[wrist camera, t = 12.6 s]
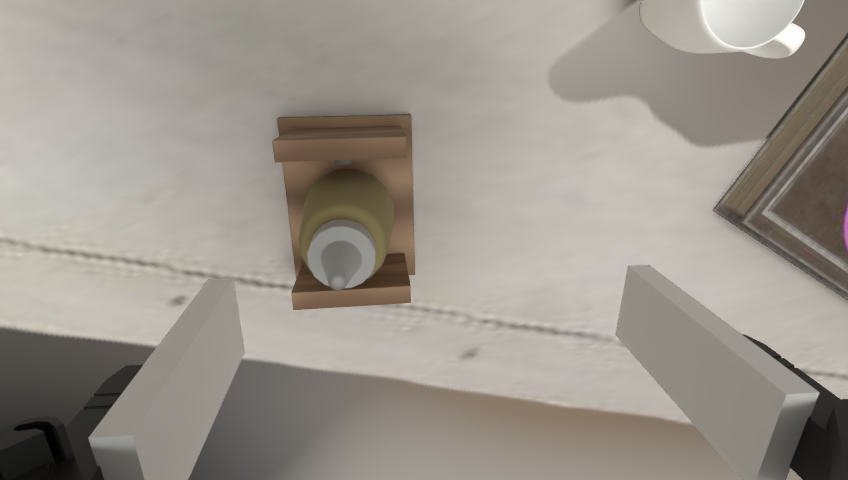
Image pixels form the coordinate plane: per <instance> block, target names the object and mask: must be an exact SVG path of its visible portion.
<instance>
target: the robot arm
mask: <svg viewBox="0 0 848 480" xmlns="http://www.w3.org/2000/svg"><path fill="white" fill-rule="evenodd" d="M615 335H616V336H617V337H618V338H619V339H620V341H621V342H622V343H623V344H624V345H625V346H626V347H627V349H628V350H629V351H630V352H631V353H632V354H633V355H634V356H635V358H636V359H637V360H638V361H639V362H640V363H641V364H642V366H643V367H644V368H645V369H646V370H647V371H648V372H649V374H650V375H651V376H652V377H653V378H654V379H655V380H656V382H657V383H658V384H659V385H660V386H661V387H662V388H663V390H664V391H665V392H666V393H667V394H668V395H669V396H670V398H671V399H672V400H673V401H674V402H675V403H676V404H677V406H678V407H679V408H680V409H681V410H682V411H683V412H684V414H685V415H686V416H687V417H688V418H689V419H690V420H691V422H692V423H693V424H694V425H695V426H696V427H697V428H698V429H699V431H700V432H701V433H702V434H703V435H704V436H705V437H706V438H707V440H708V441H709V442H710V443H711V444H712V446H713V447H714V448H715V449H716V450H717V451H718V452H719V453H720V455H721V456H722V457H723V458H724V459H725V460H726V461H727V463H728V464H729V465H730V466H731V467H732V468H733V470H734V471H735V472H736V473H737V474H738V475H739V476H740V478H741V479H742V480H786V478H787V475H788V473H789V470H790V468H791V469H792V470H794V471H795V472H796V473H797V474H798V475H799V476H800V477H801V478H802V479H803V480H848V399H842V400H841V399H839V398H838V397H836V396H835V395H834V394H832V393H831V392H830V391H828V390H827V389H825V388H824V387H823V386H821V385H820V384H819V383H817V382H816V381H814V380H813V379H812V378H810V377H809V376H808V375H806V374H805V373H804V372H802V371H801V370H799V369H798V368H794V365H793V364H791V363H790V362H788V361H787V360H786V359H784V358H781V356H780V355H779V354H777V353H776V352H775V351H773V350H772V349H771V348H769V347H768V346H766V345H765V344H763V343H761V342H759V341H757V340H755V339H753V338H751V337H749V336H746V335H744V334H743V335H742V334H741V333H739V332H738V331H737V330H735V329H734V328H733V327H731V326H730V325H729V324H727V323H726V322H725V321H723V320H722V319H721V318H719V317H718V316H717V315H715V314H714V313H713V312H711V311H710V310H709V309H707V308H706V307H705V306H703V305H702V304H701V303H699V302H698V301H697V300H695V299H694V298H693V297H691V296H690V295H689V294H687V293H686V292H685V291H683V290H682V289H681V288H679V287H678V286H677V285H675V284H674V283H673V282H671V281H670V280H668V279H667V278H666V277H664V276H663V275H662V274H660V273H659V272H658V271H656V270H655V269H654V268H652V267H651V266H650V265H637V266H628V269H627V275H626V280H625V285H624V291H623V296H622V302H621V307H620V313H619V318H618V323H617V329H616V334H615ZM244 353H245V351H244V344H243V338H242V331H241V325H240V318H239V311H238V305H237V298H236V292H235V285H234V279H208V281H207V282H206V283H205V285H204V286H203V287H202V289H201V290H200V291H199V292H198V294H197V295H196V296H195V298H194V299H193V300H192V302H191V303H190V304H189V306H188V307H187V308H186V310H185V311H184V312H183V314H182V315H181V316H180V318H179V319H178V320H177V321H176V323H175V324H174V325H173V327H172V328H171V329H170V331H169V332H168V333H167V335H166V336H165V337H164V339H163V340H162V341H161V343H160V344H159V345H158V347H157V348H156V349H155V351H154V352H153V353H152V354H151V356H150V357H149V358H148V360H147V361H146V362H145V364H144V365H129V366H125V367H124V368H122V369H121V370H119V371H118V372H116V373H115V374H113V375H112V376H111V377H109V378H108V379H106V381H105V382H104V383H103V384H102V386H101V387H100V388H99V389H98V390H97V392H96V393H95V394H94V397H92V398H91V399H90V400H89V401H88V402H87V403H86V404H85V406H84V409H83V410H81V411H80V412H79V413H78V414H77V415H76V417H75V418H74V419H73V420H72V421H71V423H70V424H69V425H68V426H67V427H66V428H65V426H64V424H63V423H62V422H61V421H60V420H59V419H58V418H53V417H47V416H44V417H36V418H29V419H27V420H23V421H20V422H17V423H14V424H11V425H9V426H7V427H5V428H3V429H1V430H0V480H188V478H189V476H190V474H191V471H192V469H193V467H194V465H195V462H196V460H197V458H198V456H199V453H200V451H201V449H202V446H203V445H204V442H205V440H206V438H207V436H208V433H209V431H210V429H211V426H212V424H213V422H214V420H215V418H216V415H217V413H218V411H219V409H220V406H221V404H222V402H223V400H224V397H225V395H226V393H227V391H228V388H229V386H230V384H231V382H232V379H233V377H234V375H235V373H236V370H237V368H238V366H239V364H240V361H241V359H242V357H243V355H244Z"/></svg>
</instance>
